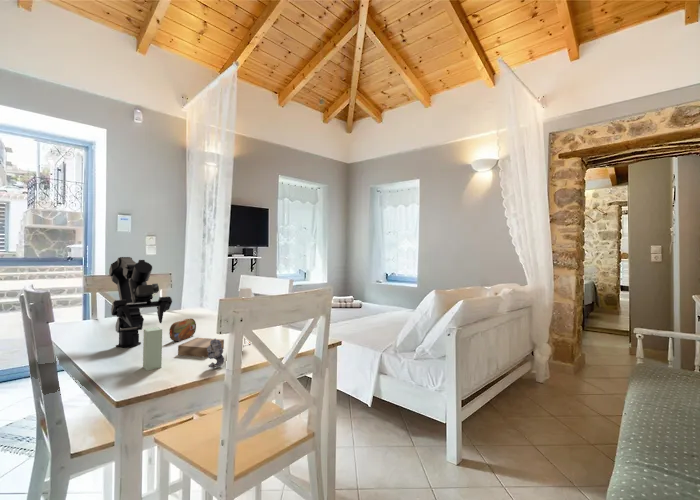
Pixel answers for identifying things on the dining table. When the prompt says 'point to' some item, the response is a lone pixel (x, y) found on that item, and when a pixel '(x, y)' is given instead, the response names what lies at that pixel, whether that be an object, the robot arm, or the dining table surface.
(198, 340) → the walnut block
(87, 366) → the dining table surface
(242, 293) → the champagne flute
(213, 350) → the grey lumpy figurine
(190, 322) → the tin
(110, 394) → the dining table surface
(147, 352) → the sage block
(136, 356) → the dining table surface
